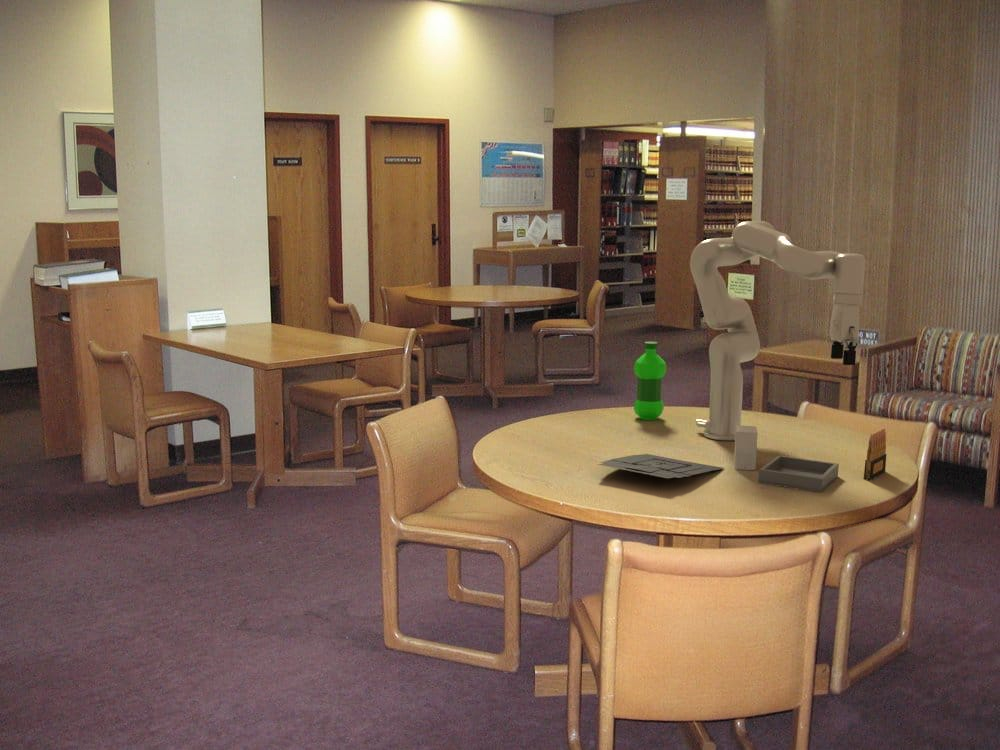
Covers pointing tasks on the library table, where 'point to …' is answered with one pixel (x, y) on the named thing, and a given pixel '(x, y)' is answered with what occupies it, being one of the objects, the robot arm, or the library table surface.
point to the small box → (745, 447)
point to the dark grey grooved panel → (658, 466)
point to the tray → (798, 473)
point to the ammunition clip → (876, 455)
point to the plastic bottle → (649, 383)
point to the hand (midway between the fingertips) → (842, 361)
